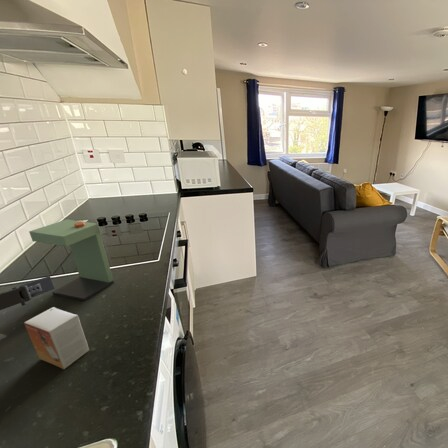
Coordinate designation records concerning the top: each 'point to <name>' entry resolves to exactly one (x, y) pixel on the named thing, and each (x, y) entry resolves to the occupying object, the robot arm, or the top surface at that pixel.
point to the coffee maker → (79, 256)
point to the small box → (57, 337)
